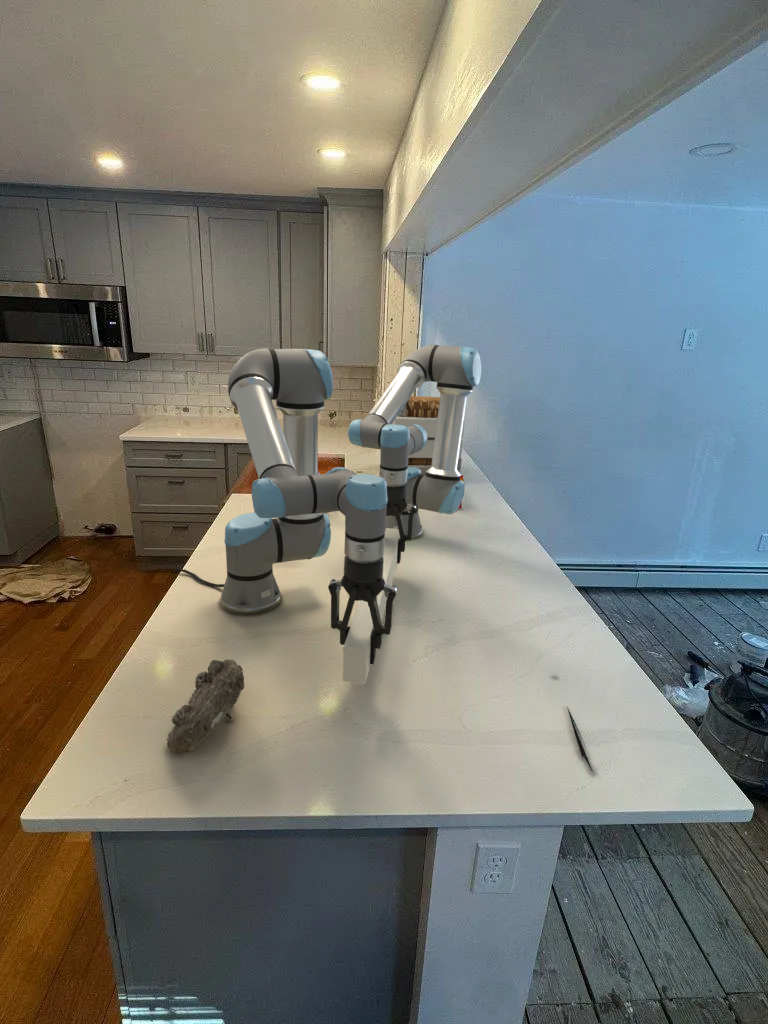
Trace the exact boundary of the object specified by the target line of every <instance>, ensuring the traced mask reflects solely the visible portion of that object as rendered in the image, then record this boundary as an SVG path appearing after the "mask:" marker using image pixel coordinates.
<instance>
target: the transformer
mask: <svg viewBox="0 0 768 1024" xmlns="http://www.w3.org/2000/svg"><path fill="white" fill-rule="evenodd" d="M439 402H440V396H415V395H414V396H413V395H411V397H410V398H409V400H408V401H407V403H406V404H405V406H404V407H403V409H402V410H401V412H400V413H399V415H398V416H397V417H396V419H395V420H394V422H393V423H392V425H393V424H394V425H404V426H409V425H420V426H421V427H423V428H424V429H425V431H426V433H427V438H428V439H427V443H426V445H425V446H424V447H423V448H422V449H421V450H420V451H419V452H416V453H414V454H412V455H410V456H408V467H417V466H418V467H431V464H432V456H433V449H434V441H435V433H436V425H437V417H438V410H439ZM464 429H465V419H464V421H463V428H462V435H461V443H460V450H459V457H458V464H457V471H458V472H459V473H460V475H462V474H461V472H462V461H463V460H462V453H463V442H464V441H463V440H462V439H463V438H464V431H465V430H464Z"/></svg>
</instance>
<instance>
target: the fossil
mask: <svg viewBox="0 0 768 1024" xmlns="http://www.w3.org/2000/svg"><path fill="white" fill-rule="evenodd" d="M243 670H244V669H243V667H242V665H240V664H237V662H236V661H235V660H234V659H232V658H231V659H227V658H226V659H224V660H223V661H222V660H217V659H212V660H211V661H210V663H209V665H208V666H207V671H201V672H199V673H198V674H197V675H196V676H195V680H194V684H195V685H194V687H195V689H194V690H193V693H192V694H191V697H190V698H189V700H188V704H184V705H182V706H181V707H180V709H177V710H176V711H175V713H174V715H173V716H172V718H171V723H172V724H173V727H172V730H171V731H170V732H168V734H167V738H166V741H167V742H166V745H167V749H168V750H169V751H173V752H174V753H176V754H178V753H182V752H188V751H189V752H192V751H193V750H195V748H196V747H197V746H199V744H200V743H201V742H203V741H204V740H205V739H206V738H207V737H208V736H209V735H210V734H211V733H212V732H214V730H215V729H217V727H218V726H219V724H220V722H221V721H222V720H223V719H224V718H225V716H226V717H227V719H229V720H233V717H232V715H230V714H229V710H230V709H231V708H234V706H235V704H236V703H237V702H238V699H239V697H240V695H241V693H242V691H243V690H245V689H244V688H245V675H244V671H243Z"/></svg>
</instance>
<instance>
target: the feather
mask: <svg viewBox="0 0 768 1024" xmlns="http://www.w3.org/2000/svg"><path fill="white" fill-rule="evenodd" d="M554 677H557V676H556V675H554ZM566 708H567V711H568V715H569V718H570V722H571V726H572V729H573V732H574V736H575V739H576V742H577V745H578V749H579V753H580V755H581V758H584V759H585V761H586V763H587V765H588V767H589V768H590V770H591V772H593V768H592V766H591V763H590V761H589V758H588V756H587V753H588V755H589V754H590V750H589V748H588V747H586V743H585V741H582V740H583V737H582V734H581V732H580V730H579V728H578V726H577V724H576V722H575V719H574V718H573V716H572V713H571V712H570V708H568V706H566ZM583 744H584V745H583ZM584 747H586V750H587V749H588V750H587V753H586V751H585V749H584Z"/></svg>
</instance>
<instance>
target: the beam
mask: <svg viewBox="0 0 768 1024" xmlns="http://www.w3.org/2000/svg"><path fill="white" fill-rule="evenodd" d="M399 539H400V535H399V529H392V528H386V530H385V545H384V555H383V558H384V563H383V579H384V581H385V584H387V585H389V586H391V587H392V586H393V581H394V578H395V573H396V569H397V566H398V563H397V553H398V541H399ZM386 601H387V598H386V596H385V592H384V591H383V590H382V591H381V592H380V593H379V594H378V595H377V603H378V608H379V613H380V618H381V622H382V623H383V620H384V619H383V618H384V616H385V612H386ZM349 627H350V630H349V632H348V635H347V638H346V641H345V644H344V645H342V646H343V647H342V682H348V683H358V684H366V683H367V678H368V675H369V671H370V667H371V664H370V653H371V636H372V632H373V629H374V627H373V623H372V618H371V613H370V609H369V607H368V602H365V601H362V600H360V601H358V605H357V608H356V610H355V614H354V615H353V618H352V621H351V624H350V626H349Z"/></svg>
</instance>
